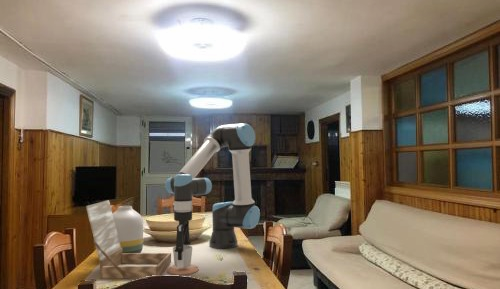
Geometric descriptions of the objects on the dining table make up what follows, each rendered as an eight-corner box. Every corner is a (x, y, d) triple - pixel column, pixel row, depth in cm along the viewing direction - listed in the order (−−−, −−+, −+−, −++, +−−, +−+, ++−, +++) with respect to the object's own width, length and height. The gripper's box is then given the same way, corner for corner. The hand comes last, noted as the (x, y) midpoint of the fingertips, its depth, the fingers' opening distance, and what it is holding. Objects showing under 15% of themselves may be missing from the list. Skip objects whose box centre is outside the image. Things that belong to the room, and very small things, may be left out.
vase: (121, 263, 170) (122, 209, 171) (98, 258, 179) (98, 207, 180) (150, 255, 185) (150, 205, 186) (127, 251, 194) (127, 203, 195)
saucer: (200, 266, 165) (200, 264, 165) (195, 274, 152) (195, 272, 152) (171, 266, 165) (171, 264, 165) (163, 274, 152) (163, 272, 152)
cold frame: (171, 263, 170) (171, 199, 171) (157, 279, 147) (157, 205, 148) (107, 263, 170) (107, 200, 172) (83, 279, 147) (84, 206, 149)
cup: (174, 262, 164) (174, 243, 164) (193, 262, 165) (193, 243, 165) (171, 269, 153) (171, 249, 154) (191, 269, 154) (191, 249, 154)
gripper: (179, 207, 172) (179, 256, 171) (167, 214, 148) (167, 271, 147) (196, 207, 171) (196, 256, 170) (186, 214, 148) (186, 271, 147)
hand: (183, 263), depth 159 cm, fingers closed on cup, 11 cm apart
